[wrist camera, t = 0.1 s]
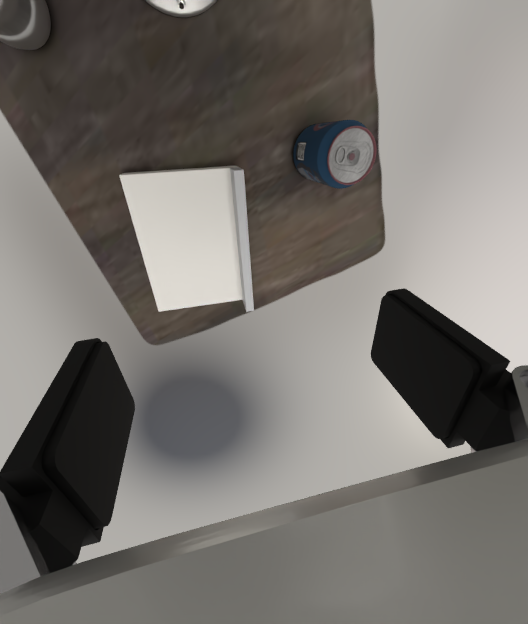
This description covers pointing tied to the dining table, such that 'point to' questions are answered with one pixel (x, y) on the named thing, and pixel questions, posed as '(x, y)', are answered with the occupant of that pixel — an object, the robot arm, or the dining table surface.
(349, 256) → the dining table surface
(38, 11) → the plastic bottle
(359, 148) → the soda can
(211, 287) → the shelf
